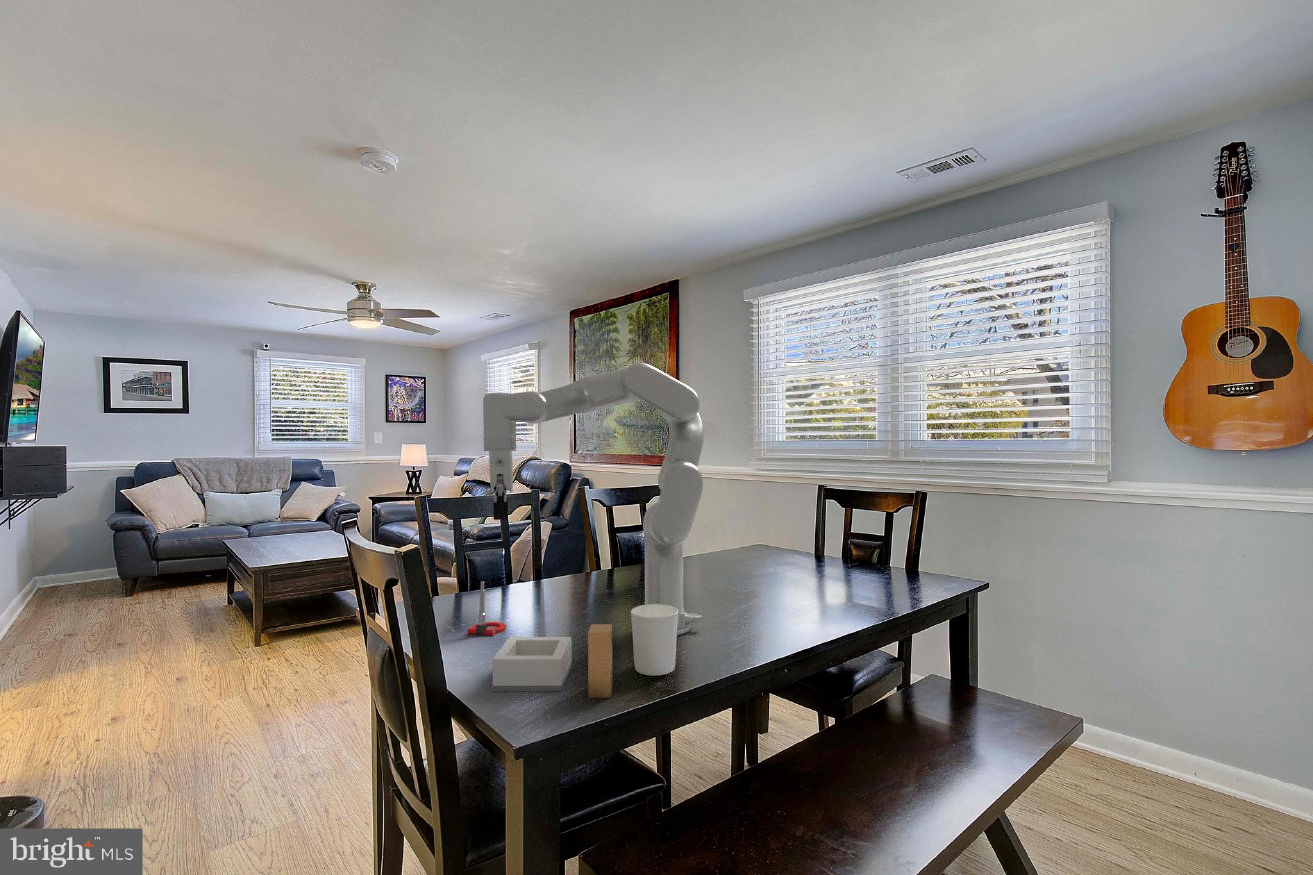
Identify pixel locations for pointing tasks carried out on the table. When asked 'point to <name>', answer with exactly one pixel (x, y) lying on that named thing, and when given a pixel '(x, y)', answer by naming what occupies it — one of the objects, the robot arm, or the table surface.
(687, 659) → the table surface
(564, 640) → the well
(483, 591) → the tow hook
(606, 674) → the wooden square beam
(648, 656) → the candle holder
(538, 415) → the robot arm
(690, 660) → the table surface
